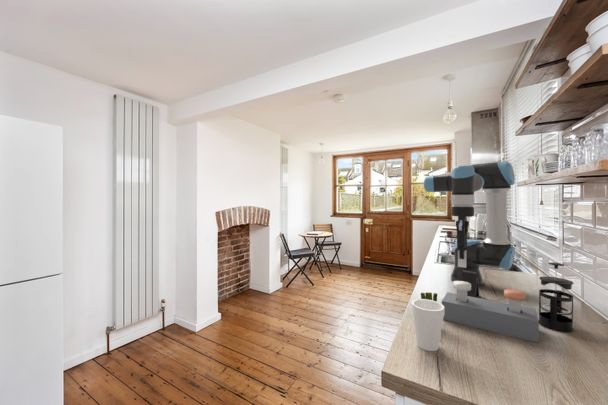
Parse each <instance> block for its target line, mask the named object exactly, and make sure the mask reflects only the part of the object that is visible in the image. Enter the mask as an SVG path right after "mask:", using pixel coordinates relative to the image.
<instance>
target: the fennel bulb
mask: <svg viewBox="0 0 608 405" xmlns="http://www.w3.org/2000/svg"><path fill="white" fill-rule="evenodd" d="M420 299H427V300H433V301H436V302H438V293H437V292H420Z"/></svg>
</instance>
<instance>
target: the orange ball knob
mask: <svg viewBox="0 0 608 405" xmlns="http://www.w3.org/2000/svg"><path fill="white" fill-rule="evenodd" d="M526 294H527V293H526V292H524V291H522V290H518V289H512V288H504V289H503V297H504V298H506V299H508V304H509V311H511V312H516V313H521V306H522V305H521V304H522V303H521V302H524V301H526V297H527V295H526Z"/></svg>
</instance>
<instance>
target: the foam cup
mask: <svg viewBox="0 0 608 405" xmlns="http://www.w3.org/2000/svg"><path fill="white" fill-rule="evenodd" d="M411 312H412V318H413V319H412V320H413V326H414V334H415V341H416V346H418V347H419V349H422V350H423V351H428V352H436V351H438V350H439V347H440V344H441V336H442V330H443V329H442V328H443V322H444V319H443V317H444V315H445V307H444V306H443V305H442V302H441V303H440V302H439V301H437V302H436V301H433V299H432V300H427V299H421V298H417V299H413V300H412V301H411Z"/></svg>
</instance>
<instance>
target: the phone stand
mask: <svg viewBox="0 0 608 405" xmlns="http://www.w3.org/2000/svg"><path fill="white" fill-rule="evenodd" d="M462 281H465V282H468V283H470V284H471V290H470V291H467V296H470V297H476V298H480V296H481V295H480V285H479V283H478V272H473V271H467V270H463V271H462Z"/></svg>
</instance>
